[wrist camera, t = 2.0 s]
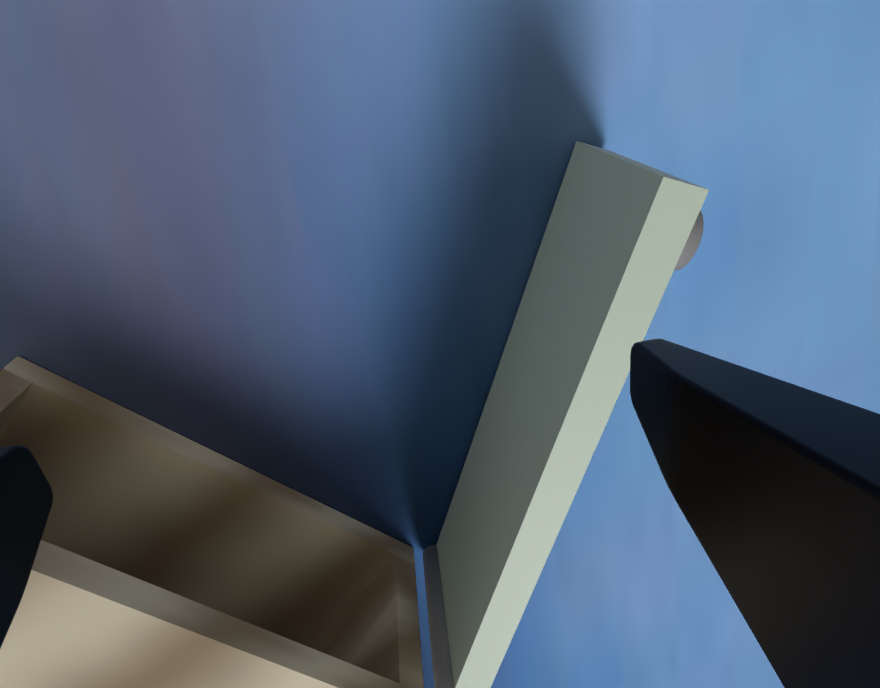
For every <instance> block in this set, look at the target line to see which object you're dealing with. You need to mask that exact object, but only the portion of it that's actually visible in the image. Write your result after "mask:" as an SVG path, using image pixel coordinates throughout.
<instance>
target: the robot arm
mask: <svg viewBox="0 0 880 688" xmlns="http://www.w3.org/2000/svg"><path fill="white" fill-rule="evenodd" d="M630 394H631V400H632V403H633V406H634V409H635V411H636V413H637V416H638V418H639V420H640V423H641V425H642V427H643V430H644V432H645V435H646V437H647V439H648V442H649V444H650V446H651V449H652V451H653V453H654V456H655V458H656V460H657V463H658V465H659V467H660V470H661V472H662V474H663V476H664V479H665V481H666V483H667V485H668V487H669V489H670V491H671V493H672V495H673V497H674V498H675V500H676V502H677V504H678V505H679V507H680V509H681V511H682V512H683V514H684V516H685V517H686V519H687V521H688V523H689V524H690V526H691V528H692V529H693V531H694V533H695V535H696V536H697V538H698V540H699V541H700V543H701V545H702V547H703V548H704V550H705V552H706V553H707V555H708V557H709V559H710V560H711V562H712V564H713V565H714V567H715V569H716V571H717V572H718V574H719V576H720V577H721V579H722V581H723V583H724V584H725V586H726V588H727V589H728V591H729V593H730V595H731V596H732V598H733V600H734V601H735V603H736V605H737V607H738V608H739V610H740V612H741V614H742V615H743V617H744V619H745V620H746V622H747V624H748V626H749V627H750V629H751V631H752V632H753V634H754V636H755V638H756V639H757V641H758V643H759V644H760V646H761V648H762V650H763V651H764V653H765V655H766V656H767V658H768V660H769V662H770V663H771V665H772V667H773V668H774V670H775V672H776V674H777V675H778V677H779V679H780V680H781V682H782V684H783V686H784V687H785V688H880V414H878V413H875V412H872V411H869V410H866V409H863V408H860V407H858V406H855V405H852V404H849V403H846V402H843V401H840V400H837V399H834V398H831V397H829V396H826V395H823V394H820V393H817V392H814V391H811V390H808V389H805V388H802V387H799V386H797V385H794V384H791V383H788V382H785V381H782V380H779V379H776V378H773V377H770V376H768V375H765V374H762V373H759V372H756V371H753V370H750V369H747V368H744V367H741V366H739V365H736V364H733V363H730V362H727V361H724V360H721V359H718V358H715V357H712V356H710V355H707V354H704V353H701V352H698V351H695V350H692V349H689V348H686V347H683V346H681V345H678V344H675V343H672V342H669V341H666V340H663V339H652V340H646V341H640V342H636V343H634V344H633V346H632V348H631V353H630ZM52 503H53V492H52V489H51V486H50V484H49V482H48V480H47V479H46V477H45V475H44V473H43V471H42V470H41V468H40V466H39V464H38V462H37V461H36V459H35V457H34V455H33V454H32V452H31V451H30V450H29V449H28V448H27V447H25V446H23V445H13V446H7V447H1V448H0V649H1V646H2V644H3V642H4V639H5V637H6V635H7V632H8V630H9V628H10V626H11V623H12V621H13V619H14V616H15V614H16V612H17V609H18V607H19V604H20V602H21V599H22V597H23V594H24V591H25V588H26V585H27V582H28V579H29V576H30V573H31V570H32V567H33V564H34V560H35V557H36V554H37V551H38V548H39V545H40V541H41V538H42V535H43V532H44V529H45V526H46V522H47V519H48V516H49V513H50V510H51V507H52Z"/></svg>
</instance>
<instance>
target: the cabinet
mask: <svg viewBox="0 0 880 688" xmlns="http://www.w3.org/2000/svg"><path fill="white" fill-rule="evenodd" d="M13 445H23V446H25V447H27V448H28V449H29V450H30V451H31V452H32V454H33V455H34V457H35V459H36V461H37V462H38V464H39V466H40V468H41V470H42V471H43V473H44V475H45V477H46V479H47V480H48V482H49V484H50V486H51V489H52V492H53V503H52V507H51V510H50V513H49V516H48V519H47V522H46V526H45V529H44V532H43V535H42V538H41V541H40V545H39V548H38V551H37V554H36V557H35V560H34V564H33V567H32V570H31V573H30V576H29V579H28V582H27V585H26V588H25V591H24V594H23V597H22V599H21V602H20V604H19V607H18V609H17V612H16V614H15V616H14V619H13V621H12V623H11V626H10V628H9V630H8V632H7V635H6V637H5V639H4V642H3V644H2V646H1V649H0V688H424V685H423V671H422V657H421V643H420V630H419V616H418V602H417V589H416V575H415V561H414V548H413V547H411V546H409V545H407V544H405V543H403V542H400V541H398V540H396V539H394V538H392V537H390V536H388V535H386V534H384V533H382V532H380V531H378V530H376V529H374V528H372V527H370V526H368V525H365V524H363V523H361V522H359V521H357V520H355V519H353V518H351V517H349V516H347V515H345V514H343V513H341V512H339V511H337V510H335V509H332V508H330V507H328V506H326V505H324V504H322V503H320V502H318V501H316V500H314V499H312V498H310V497H308V496H306V495H304V494H302V493H299V492H297V491H295V490H293V489H291V488H289V487H287V486H285V485H283V484H281V483H279V482H277V481H275V480H273V479H271V478H269V477H266V476H264V475H262V474H260V473H258V472H256V471H254V470H252V469H250V468H248V467H246V466H244V465H242V464H240V463H238V462H236V461H233V460H231V459H229V458H227V457H225V456H223V455H221V454H219V453H217V452H215V451H213V450H211V449H209V448H207V447H205V446H203V445H200V444H198V443H196V442H194V441H192V440H190V439H188V438H186V437H184V436H182V435H180V434H178V433H176V432H174V431H172V430H170V429H168V428H165V427H163V426H161V425H159V424H157V423H155V422H153V421H151V420H149V419H147V418H145V417H143V416H141V415H139V414H137V413H135V412H132V411H130V410H128V409H126V408H124V407H122V406H120V405H118V404H116V403H114V402H112V401H110V400H108V399H106V398H104V397H102V396H99V395H97V394H95V393H93V392H91V391H89V390H87V389H85V388H83V387H81V386H79V385H77V384H75V383H73V382H71V381H69V380H66V379H64V378H62V377H60V376H58V375H56V374H54V373H52V372H50V371H48V370H46V369H44V368H42V367H40V366H38V365H36V364H33V363H31V362H29V361H27V360H25V359H23V358H21V357H19V356H17V357H16V358H15V359H14V360H12V361H11V362H10V363H9V364H7V365H6V366H5V367H4V368H3V369H1V370H0V448H1V447H7V446H13Z"/></svg>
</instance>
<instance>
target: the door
mask: <svg viewBox="0 0 880 688" xmlns="http://www.w3.org/2000/svg"><path fill="white" fill-rule="evenodd" d="M708 191H709V190H708V189H705V188H703V187H700V186H698V185H695V184H693V183H690V182H688V181H685V180H683V179H680V178H678V177H675V176H673V175H670V174H667V173H665V172H662V171H660V170H657V169H655V168H652V167H650V166H647V165H645V164H642V163H640V162H637V161H635V160H632V159H629V158H627V157H624V156H622V155H619V154H617V153H614V152H612V151H609V150H606V149H602V148H599V147H596V146H592V145H589V144H585V143H582V142H579V141H576V144H575V147H574V150H573V153H572V155H571V158H570V161H569V164H568V167H567V170H566V173H565V176H564V179H563V181H562V184H561V187H560V190H559V193H558V196H557V199H556V202H555V204H554V207H553V210H552V213H551V216H550V219H549V222H548V225H547V227H546V230H545V233H544V236H543V239H542V242H541V245H540V248H539V251H538V253H537V256H536V259H535V262H534V265H533V268H532V271H531V274H530V276H529V279H528V282H527V285H526V288H525V291H524V294H523V297H522V300H521V302H520V305H519V308H518V311H517V314H516V317H515V320H514V323H513V325H512V328H511V331H510V334H509V337H508V340H507V343H506V346H505V349H504V351H503V354H502V357H501V360H500V363H499V366H498V369H497V372H496V374H495V377H494V380H493V383H492V386H491V389H490V392H489V395H488V398H487V400H486V403H485V406H484V409H483V412H482V415H481V418H480V421H479V423H478V426H477V429H476V432H475V435H474V438H473V441H472V444H471V446H470V449H469V452H468V455H467V458H466V461H465V464H464V467H463V470H462V472H461V475H460V478H459V481H458V484H457V487H456V490H455V493H454V495H453V498H452V501H451V504H450V507H449V510H448V513H447V516H446V519H445V521H444V524H443V527H442V530H441V533H440V536H439V539H438V542H437V544H436V545H431V546H428V547H427V548H426V549H425V550H424V551H423V564H424V575H425V586H426V597H427V608H428V619H429V630H430V641H431V652H432V664H433V675H434V686H435V688H491V685H492V683H493V681H494V679H495V676H496V674H497V672H498V669H499V667H500V665H501V663H502V660H503V658H504V656H505V654H506V651H507V649H508V647H509V644H510V642H511V640H512V638H513V635H514V633H515V631H516V628H517V626H518V624H519V622H520V619H521V617H522V615H523V613H524V610H525V608H526V606H527V603H528V601H529V599H530V597H531V594H532V592H533V590H534V587H535V585H536V583H537V581H538V578H539V576H540V574H541V572H542V569H543V567H544V565H545V562H546V560H547V558H548V556H549V553H550V551H551V549H552V546H553V544H554V542H555V540H556V537H557V535H558V533H559V531H560V528H561V526H562V524H563V521H564V519H565V517H566V515H567V512H568V510H569V508H570V506H571V503H572V501H573V499H574V496H575V494H576V492H577V490H578V487H579V485H580V483H581V480H582V478H583V476H584V474H585V471H586V469H587V467H588V465H589V462H590V460H591V458H592V455H593V453H594V451H595V449H596V446H597V444H598V442H599V439H600V437H601V435H602V433H603V430H604V428H605V426H606V424H607V421H608V419H609V417H610V414H611V412H612V410H613V408H614V405H615V403H616V401H617V398H618V396H619V394H620V392H621V389H622V387H623V385H624V383H625V380H626V378H627V376H628V373H629V371H630V353H631V348H632V346H633V344H634V343H636V342H640V341H643V339H644V337H645V335H646V332H647V330H648V328H649V326H650V323H651V321H652V319H653V316H654V314H655V312H656V310H657V307H658V305H659V303H660V301H661V298H662V296H663V294H664V291H665V289H666V287H667V285H668V282H669V280H670V278H671V276H672V273H673V271H675V270H679V269H681V268H683V267H684V266H685V265H686V264H687V263H688V262H689V261H690V260H691V259H692V257H693V256H694V254H695V252H696V250H697V248H698V246H699V243H700V241H701V237H702V233H703V216H702V213H701V211H700V209H701V207H702V205H703V203H704V200H705V198H706V196H707V194H708Z"/></svg>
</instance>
